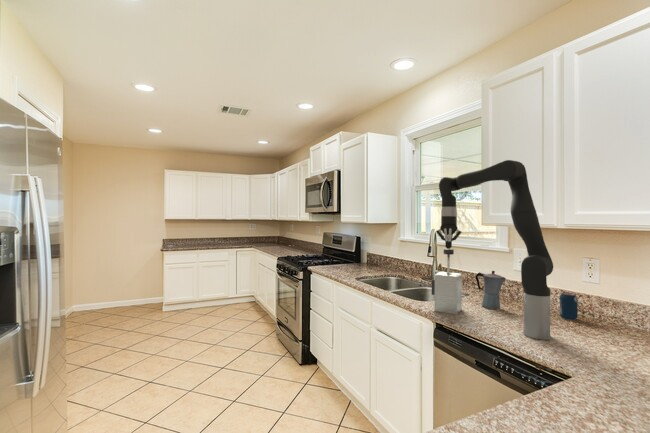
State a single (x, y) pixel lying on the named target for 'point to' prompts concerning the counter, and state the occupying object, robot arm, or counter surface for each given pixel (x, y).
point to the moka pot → (491, 289)
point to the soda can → (568, 306)
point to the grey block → (447, 292)
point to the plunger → (448, 258)
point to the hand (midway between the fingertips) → (448, 248)
